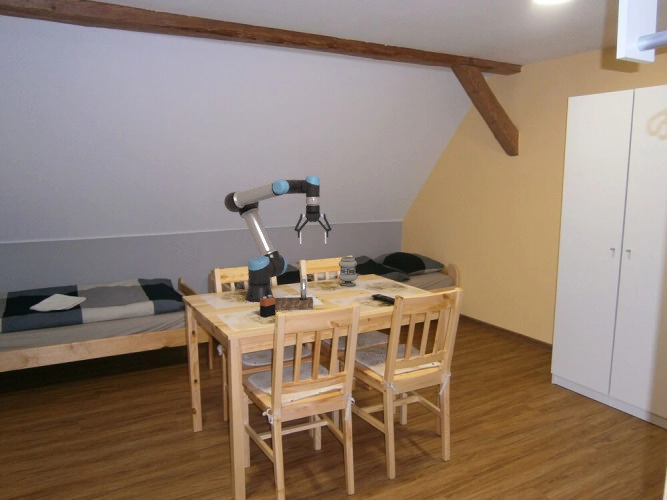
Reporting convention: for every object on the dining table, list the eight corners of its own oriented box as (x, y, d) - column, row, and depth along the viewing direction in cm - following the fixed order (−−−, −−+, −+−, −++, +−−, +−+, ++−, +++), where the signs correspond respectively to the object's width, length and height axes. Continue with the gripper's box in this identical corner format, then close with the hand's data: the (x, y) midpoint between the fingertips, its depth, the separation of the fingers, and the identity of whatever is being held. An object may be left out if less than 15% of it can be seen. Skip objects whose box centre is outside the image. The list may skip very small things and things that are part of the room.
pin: (300, 306, 258) (300, 279, 256) (300, 305, 261) (300, 278, 259) (306, 306, 258) (306, 279, 257) (306, 304, 261) (306, 278, 260)
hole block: (266, 310, 254) (266, 302, 253) (267, 306, 263) (267, 297, 262) (313, 309, 256) (313, 301, 255) (312, 305, 265) (312, 297, 264)
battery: (275, 315, 246) (275, 295, 244) (265, 317, 241) (265, 297, 239) (269, 313, 249) (269, 294, 247) (259, 316, 243) (259, 296, 242)
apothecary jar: (335, 284, 317) (335, 256, 315) (351, 282, 323) (351, 255, 320) (344, 288, 307) (344, 259, 304) (361, 286, 312) (361, 258, 310)
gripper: (289, 205, 264) (290, 244, 267) (336, 205, 266) (336, 244, 269) (289, 204, 271) (290, 242, 274) (335, 204, 274) (335, 242, 277)
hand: (313, 243), depth 272 cm, fingers open, 13 cm apart
